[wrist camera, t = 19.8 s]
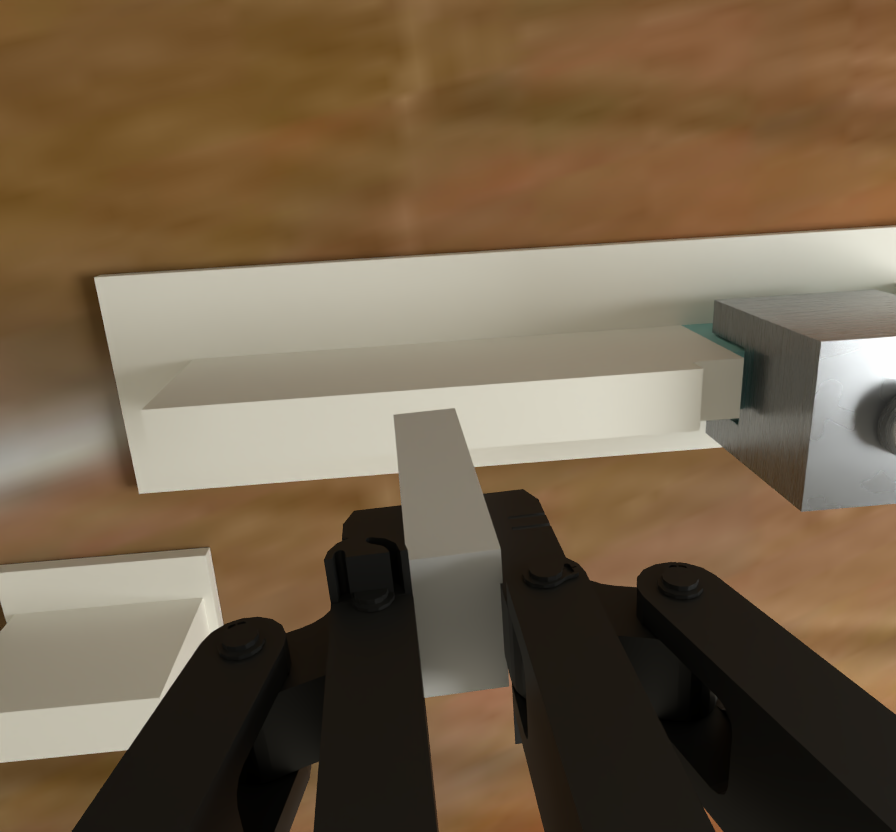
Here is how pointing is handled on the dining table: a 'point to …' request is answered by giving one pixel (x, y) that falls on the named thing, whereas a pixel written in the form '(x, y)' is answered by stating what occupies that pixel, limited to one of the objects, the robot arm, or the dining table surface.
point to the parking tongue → (97, 646)
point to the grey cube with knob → (815, 395)
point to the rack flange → (449, 351)
